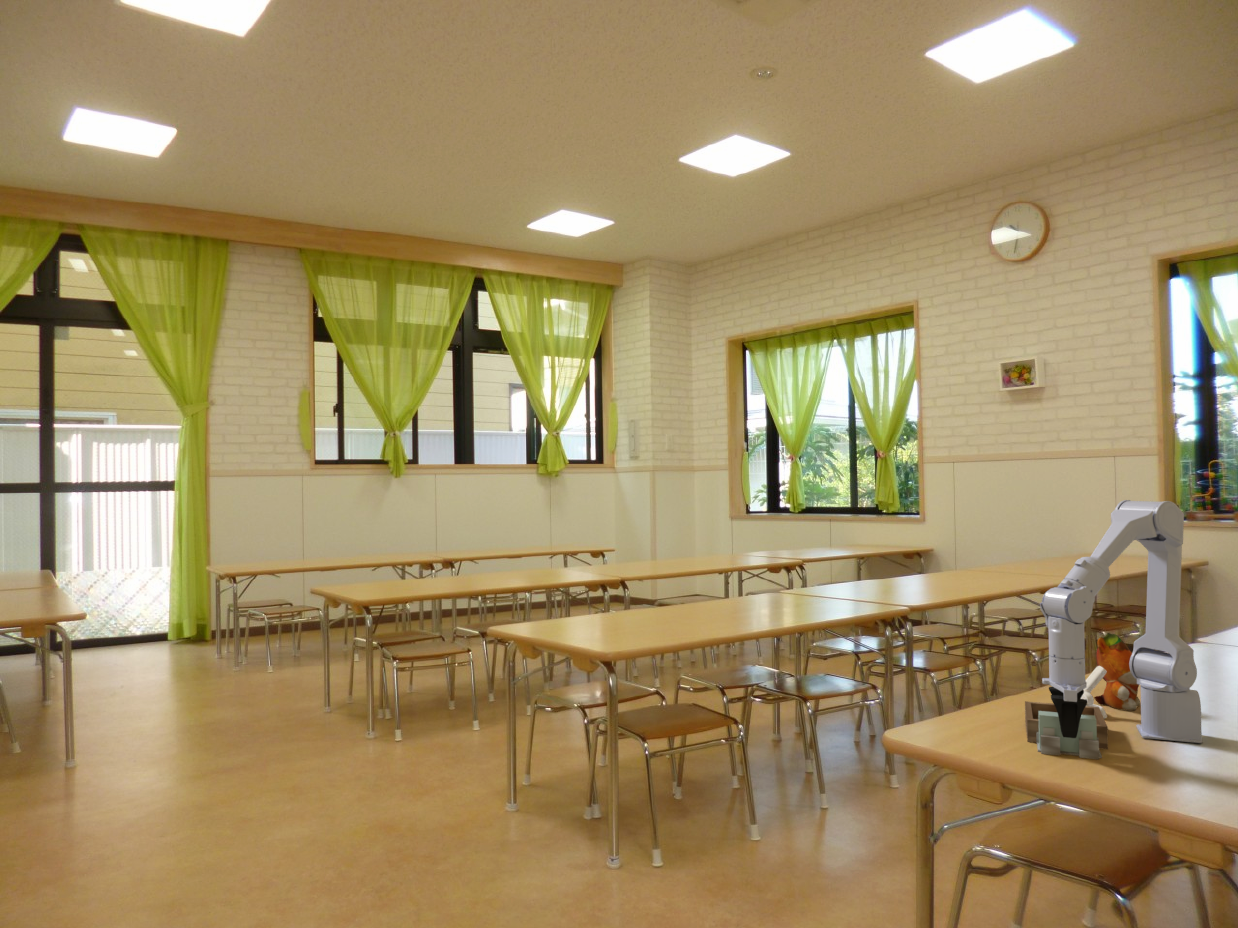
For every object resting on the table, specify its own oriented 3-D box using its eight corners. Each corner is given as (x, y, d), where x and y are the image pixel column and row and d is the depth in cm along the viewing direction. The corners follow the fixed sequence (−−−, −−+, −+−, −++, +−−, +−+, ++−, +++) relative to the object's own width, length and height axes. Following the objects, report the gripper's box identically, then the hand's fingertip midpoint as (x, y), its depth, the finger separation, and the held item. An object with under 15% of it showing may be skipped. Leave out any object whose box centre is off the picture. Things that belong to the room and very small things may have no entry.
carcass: (1099, 727, 170) (1099, 707, 170) (1112, 760, 151) (1111, 737, 151) (1025, 721, 175) (1024, 701, 175) (1028, 752, 156) (1028, 729, 157)
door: (1095, 749, 157) (1094, 715, 157) (1097, 754, 154) (1096, 720, 154) (1039, 743, 160) (1038, 710, 160) (1039, 749, 157) (1039, 715, 157)
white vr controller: (1139, 693, 176) (1114, 675, 175) (1101, 739, 177) (1076, 722, 176) (1115, 676, 183) (1091, 659, 182) (1078, 721, 185) (1054, 705, 183)
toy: (1132, 714, 180) (1130, 640, 180) (1085, 705, 186) (1084, 634, 186) (1151, 704, 187) (1150, 633, 187) (1106, 696, 194) (1105, 627, 194)
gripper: (1040, 646, 165) (1041, 719, 165) (1043, 662, 152) (1045, 741, 152) (1082, 649, 163) (1083, 723, 162) (1090, 665, 149) (1091, 746, 149)
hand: (1068, 732), depth 157 cm, fingers open, 5 cm apart
